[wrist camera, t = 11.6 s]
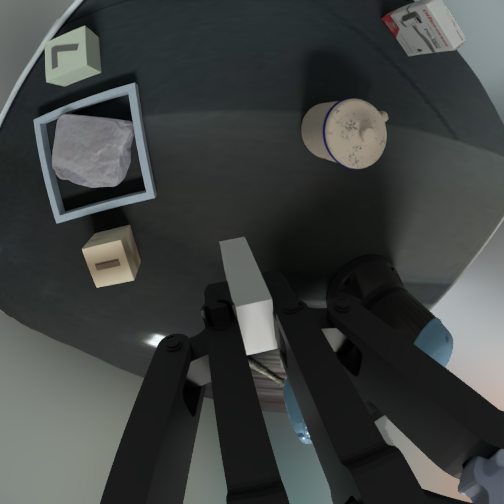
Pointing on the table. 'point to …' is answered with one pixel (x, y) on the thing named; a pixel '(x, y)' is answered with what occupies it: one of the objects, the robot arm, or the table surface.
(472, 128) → the table surface
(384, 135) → the teacup with lid
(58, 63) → the numbered sage-green block
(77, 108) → the slate-blue holder
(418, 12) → the ink box
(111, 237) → the numbered birch block
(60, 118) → the stone block
